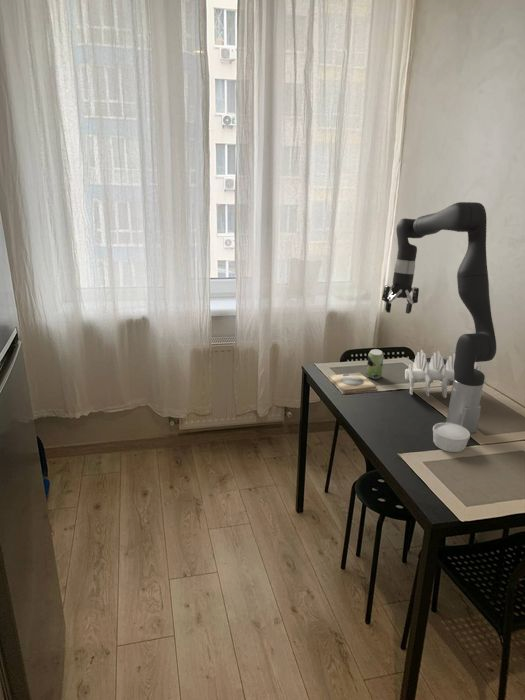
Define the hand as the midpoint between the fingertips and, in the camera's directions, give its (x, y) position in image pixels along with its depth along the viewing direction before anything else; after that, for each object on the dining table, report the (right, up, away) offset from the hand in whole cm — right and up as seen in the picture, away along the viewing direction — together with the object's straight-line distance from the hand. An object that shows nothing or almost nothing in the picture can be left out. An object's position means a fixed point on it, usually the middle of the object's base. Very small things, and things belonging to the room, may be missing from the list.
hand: (397, 312), depth 202 cm
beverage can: (-8, -26, +9) cm, 29 cm away
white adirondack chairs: (+13, -32, -6) cm, 35 cm away
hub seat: (-18, -28, +1) cm, 34 cm away
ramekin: (+5, -45, -40) cm, 61 cm away
